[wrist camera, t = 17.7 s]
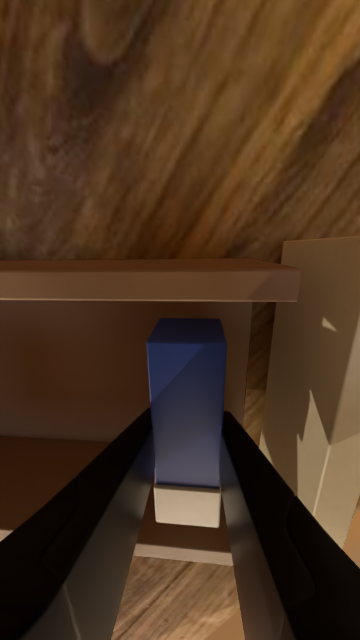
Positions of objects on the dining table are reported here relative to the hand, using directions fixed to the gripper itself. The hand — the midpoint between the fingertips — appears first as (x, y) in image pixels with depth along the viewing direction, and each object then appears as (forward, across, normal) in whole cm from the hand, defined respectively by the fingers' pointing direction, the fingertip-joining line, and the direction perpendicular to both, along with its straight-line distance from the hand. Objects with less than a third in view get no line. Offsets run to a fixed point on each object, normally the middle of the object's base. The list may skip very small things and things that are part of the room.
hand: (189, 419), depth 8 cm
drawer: (+4, +2, 0) cm, 5 cm away
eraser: (+1, 0, 0) cm, 1 cm away
